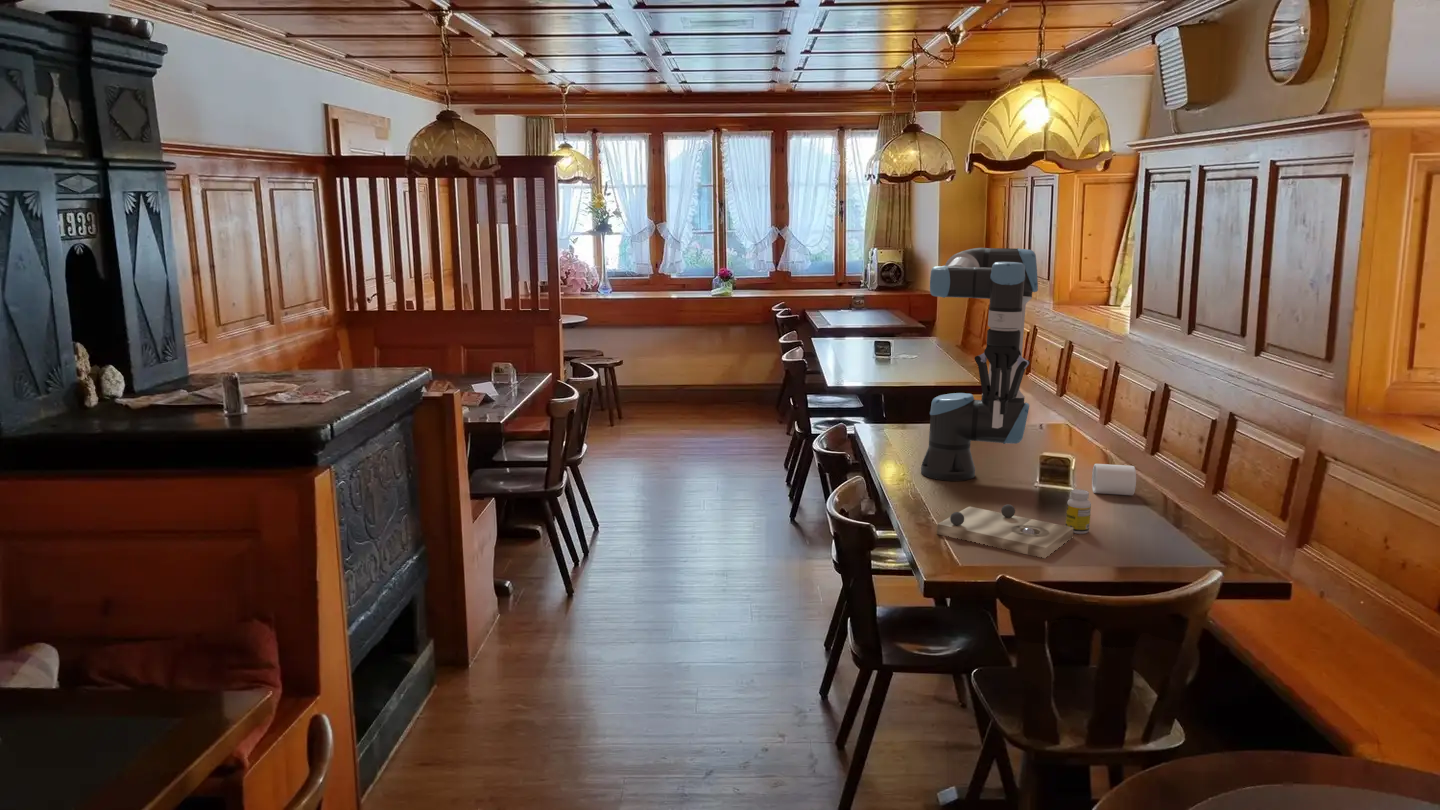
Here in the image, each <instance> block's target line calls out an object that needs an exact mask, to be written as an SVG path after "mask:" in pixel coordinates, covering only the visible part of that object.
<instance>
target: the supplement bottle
mask: <svg viewBox="0 0 1440 810" xmlns="http://www.w3.org/2000/svg"><path fill="white" fill-rule="evenodd" d="M1089 495H1090V492H1089V491H1087V490H1085V489H1080V488H1078V489H1076V488H1075V489H1071V491H1070V497H1071V498H1069V499H1068V500H1067V503H1066V512H1065V513H1066V514H1065V525H1064V526H1068V527H1073V534H1077V535H1078V534H1079V535H1083V534H1084V535H1085V534H1087V533H1089V531H1090V523H1091V511H1092V510H1091V509H1092V503H1091V501H1090V500H1089Z"/></svg>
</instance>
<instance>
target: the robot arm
mask: <svg viewBox="0 0 1440 810" xmlns="http://www.w3.org/2000/svg"><path fill="white" fill-rule="evenodd" d="M1038 279H1039V278H1038V264H1037V256H1036V253H1035V251H1034V250H1033V249H1025V248H1011V247H1010V248H1001V247H1000V248H999V247H997V248H996V247H994V248H993V247H989V248H987V247H975V248H969V249H966V250H962V251H960V252H959V251H958V252H957V253H955V254H953V255H952V256H950V257H949V258H948V259H947V261H946V263H945V265H942V266H941V265H937V266H933V267H932V268H931V270H930V277H929V294H930V295H931V296H933V297H936V298H937V297H938V298H940V297H941V298H959V299H960V298H963V299H964V298H965V299H966V298H967V299H968V298H970V299H971V298H972V299H984V300H986V299H987V300H989V306H988V318H987V319H988V321H987V326H988V327H989V328H988V329H987V330H986V348H984V351H983V353H981V354H978V355H975V356H974V361H975V363H976V365H977V367H978V374H979V379H980V386H981V392H982V393H981V399H975V397H974V395H973V394H972V393H965V392H956V393H955V392H953V393H947V394H945V393H944V394H940V395H938V396H936V397H934V398H932V401H931V406H930V411H929V415H930V416H929V417H930V420H929V435H928V446H927V450H926V453H925V455H924V456H923V457H924V458H923V460H922V463H921V465H920V466H921V467H920V473H921V475H923V476H925V477H927V478H930V479H934V480H939V481H949V482H950V481H951V482H959V481H961V482H962V481H968V480H972V479H974V478H975V476H976V475H975V473H976V467H975V463H974V459H973V454H972V452H971V441H973V442H974V441H975V442H985V443H998V444H1003V445H1006V444H1012V445H1013V444H1019V443H1021V442H1022V440H1023V437H1024V433H1025V431H1026V430H1025V429H1026V424H1027V419H1028V414H1029V409H1030V404H1029V403H1027V402H1025V398H1026V397H1025V395H1024V394H1023V393H1022V392H1021V390H1020V387H1021V383H1022V381H1023V377H1024V375H1025V372H1026V369H1027V368H1028V367H1029V365H1030V364H1031V361H1030V360H1028V359H1026V358H1024V357H1023V347H1024V345H1023V344H1024V331H1025V319H1026V318H1025V317H1026V308H1027V307H1026V305H1027V304H1028V302H1030V301H1031V300H1032V299H1033V293H1036V292H1038V291H1039V283H1038ZM987 361H988V362H989V366H988V363H987Z"/></svg>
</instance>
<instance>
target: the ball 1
mask: <svg viewBox="0 0 1440 810" xmlns="http://www.w3.org/2000/svg"><path fill="white" fill-rule="evenodd" d="M949 517H950V520H951V523H952V524H954V525H956V526H959V525H961V524H962V523H963V522H964V516H963V514H962V513H960V511H954V512H953V513H951V515H950V516H949Z"/></svg>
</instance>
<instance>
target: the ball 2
mask: <svg viewBox="0 0 1440 810" xmlns="http://www.w3.org/2000/svg"><path fill="white" fill-rule="evenodd" d="M1015 509H1016V508H1015V507H1014V506H1013V505H1011V504H1005V505H1003V506H1002V507H1001V512H1000V513H1002V515H1003V516H1004V517H1006V518H1011V517H1012V516H1015V514H1016V510H1015Z"/></svg>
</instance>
